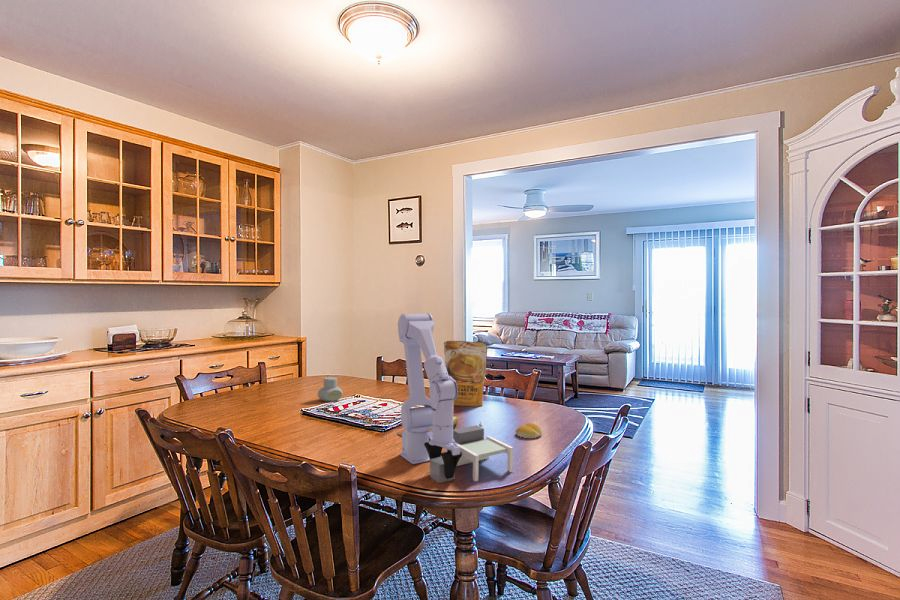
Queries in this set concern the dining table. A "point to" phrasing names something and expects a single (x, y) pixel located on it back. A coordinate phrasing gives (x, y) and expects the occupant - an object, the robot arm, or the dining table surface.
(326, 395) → the air freshener
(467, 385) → the pancake mix bag
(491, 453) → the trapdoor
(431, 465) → the grey cube
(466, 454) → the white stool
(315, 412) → the dining table surface
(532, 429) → the bread roll
